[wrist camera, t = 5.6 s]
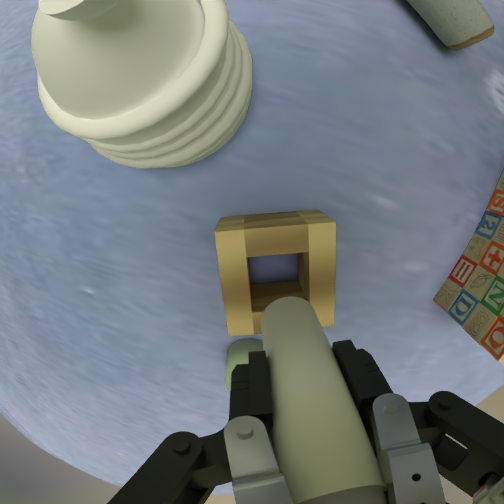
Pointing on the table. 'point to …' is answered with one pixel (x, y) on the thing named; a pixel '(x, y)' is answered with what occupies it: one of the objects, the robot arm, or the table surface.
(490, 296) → the stack of blocks
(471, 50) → the table surface
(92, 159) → the table surface
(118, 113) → the honey pot
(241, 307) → the bead block
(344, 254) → the table surface
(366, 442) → the cream capped cylinder
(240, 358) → the bead
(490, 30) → the ceramic mug
